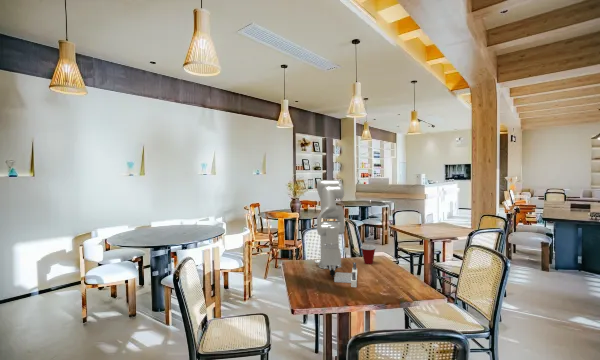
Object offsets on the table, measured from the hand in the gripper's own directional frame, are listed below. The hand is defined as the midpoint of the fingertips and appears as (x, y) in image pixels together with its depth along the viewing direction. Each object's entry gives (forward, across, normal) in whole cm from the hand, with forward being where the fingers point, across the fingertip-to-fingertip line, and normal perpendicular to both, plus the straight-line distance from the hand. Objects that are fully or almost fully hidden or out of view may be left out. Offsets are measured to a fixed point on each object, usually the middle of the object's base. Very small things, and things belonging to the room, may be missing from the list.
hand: (332, 276), depth 195 cm
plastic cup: (+2, +21, +41) cm, 46 cm away
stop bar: (+2, +13, +1) cm, 13 cm away
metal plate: (+2, +7, 0) cm, 7 cm away
